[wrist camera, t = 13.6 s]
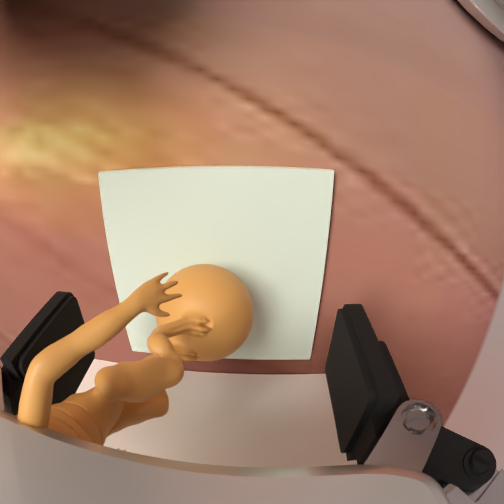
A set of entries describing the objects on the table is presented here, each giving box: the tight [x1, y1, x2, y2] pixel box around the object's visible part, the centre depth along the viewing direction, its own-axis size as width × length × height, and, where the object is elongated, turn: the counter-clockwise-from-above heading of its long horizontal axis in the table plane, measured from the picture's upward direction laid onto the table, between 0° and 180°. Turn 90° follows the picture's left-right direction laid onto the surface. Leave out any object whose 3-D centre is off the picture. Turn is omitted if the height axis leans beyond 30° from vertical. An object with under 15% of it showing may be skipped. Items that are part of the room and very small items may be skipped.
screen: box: [75, 359, 357, 467], centre depth 12 cm, size 24×2×13 cm, turn 89°
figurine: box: [16, 264, 254, 451], centre depth 9 cm, size 8×6×12 cm
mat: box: [98, 166, 334, 360], centre depth 14 cm, size 10×10×1 cm
